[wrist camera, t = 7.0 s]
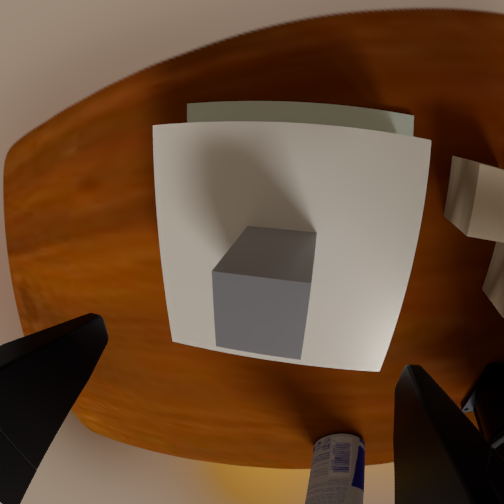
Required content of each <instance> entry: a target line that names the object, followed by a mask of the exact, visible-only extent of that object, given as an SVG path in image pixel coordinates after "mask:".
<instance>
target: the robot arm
mask: <svg viewBox="0 0 504 504" xmlns="http://www.w3.org/2000/svg"><path fill="white" fill-rule="evenodd" d="M107 342H108V333H107V330H106V327H105V323H104V320H103V318H102V316H100V315H98V314H94V313H89V314H86V315H83V316H80V317H78V318H75V319H72V320H69V321H67V322H64V323H61V324H58V325H55V326H53V327H50V328H47V329H44V330H42V331H39V332H36V333H33V334H30V335H28V336H25V337H22V338H19V339H17V340H14V341H11V342H8V343H5V344H3V345H1V346H0V502H1V503H2V504H20V503H21V501H22V499H23V497H24V494H25V493H26V490H27V488H28V486H29V484H30V482H31V480H32V479H33V477H34V475H35V473H36V471H37V470H36V469H37V468H38V466H39V465H40V463H41V461H42V459H43V457H44V455H45V453H46V451H47V450H48V448H49V446H50V444H51V442H52V441H53V439H54V437H55V435H56V434H57V432H58V430H59V428H60V427H61V425H62V423H63V421H64V420H65V418H66V416H67V415H68V413H69V411H70V410H71V408H72V406H73V405H74V403H75V401H76V400H77V398H78V396H79V395H80V393H81V391H82V390H83V388H84V386H85V385H86V383H87V382H88V380H89V378H90V376H91V374H92V372H93V370H94V368H95V366H96V364H97V362H98V360H99V358H100V356H101V354H102V352H103V350H104V348H105V346H106V345H107ZM461 409H462V411H461V410H460V408H459V407H458V406H457V405H456V404H455V403H454V402H453V401H452V399H451V398H450V397H449V396H448V395H447V394H446V393H445V392H444V391H443V389H442V388H441V387H440V386H439V385H438V384H437V383H436V382H435V381H434V380H433V378H432V377H431V376H430V375H429V374H428V373H427V372H426V371H425V370H424V369H423V368H422V367H421V366H420V365H406V366H405V367H404V369H403V371H402V374H401V376H400V378H399V380H398V383H397V385H396V388H395V409H394V434H393V447H394V470H395V504H504V363H492V364H489V365H488V366H487V367H486V368H485V370H484V371H483V373H482V375H481V377H480V378H479V380H478V382H477V383H476V385H475V387H474V388H473V390H472V392H471V393H470V395H469V396H468V398H467V399H466V401H465V402H464V404H463V405H462V407H461ZM472 411H474V414H475V417H476V420H477V424H478V427H479V430H478V429H477V428H476V427H475V426H474V424H473V423H472V422H471V421H470V420H469V419H468V418H467V416H466V415H465V414H464V413H463V412H472Z"/></svg>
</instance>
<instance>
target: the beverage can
mask: <svg viewBox="0 0 504 504" xmlns="http://www.w3.org/2000/svg"><path fill="white" fill-rule="evenodd" d="M364 467H365V443H364V441H363V440H362V439H360V438H359V437H357V436H354V435H350V434H333V435H329V436H326V437H323V438H321V439H320V440H318V441H317V442H316V443H315V445H314V451H313V458H312V465H311V472H310V478H309V485H308V490H307V496H306V502H305V504H363V492H364Z"/></svg>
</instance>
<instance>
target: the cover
mask: <svg viewBox="0 0 504 504" xmlns="http://www.w3.org/2000/svg"><path fill="white" fill-rule="evenodd" d="M430 153H431V140H428V139H423V138H418V137H413V136H407V135H401V134H395V133H389V132H382V131H375V130H368V129H360V128H351V127H342V126H332V125H320V124H307V123H289V122H259V121H223V122H193V123H176V124H162V125H153V157H154V179H155V196H156V210H157V223H158V234H159V244H160V254H161V263H162V272H163V280H164V288H165V295H166V302H167V309H168V316H169V322H170V328H171V334H172V340H173V342H178V343H182V344H186V345H191V346H195V347H200V348H205V349H210V350H215V351H220V352H225V353H230V354H236V355H241V356H247V357H253V358H259V359H265V360H272V361H279V362H286V363H293V364H301V365H309V366H318V367H327V368H337V369H348V370H360V371H375V372H380V369H381V366H382V364H383V361H384V358H385V355H386V353H387V350H388V347H389V344H390V341H391V338H392V335H393V332H394V329H395V326H396V323H397V319H398V316H399V313H400V310H401V306H402V303H403V299H404V296H405V292H406V288H407V284H408V280H409V276H410V272H411V268H412V264H413V260H414V255H415V251H416V246H417V241H418V236H419V231H420V226H421V220H422V215H423V208H424V202H425V195H426V188H427V181H428V172H429V163H430Z"/></svg>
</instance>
